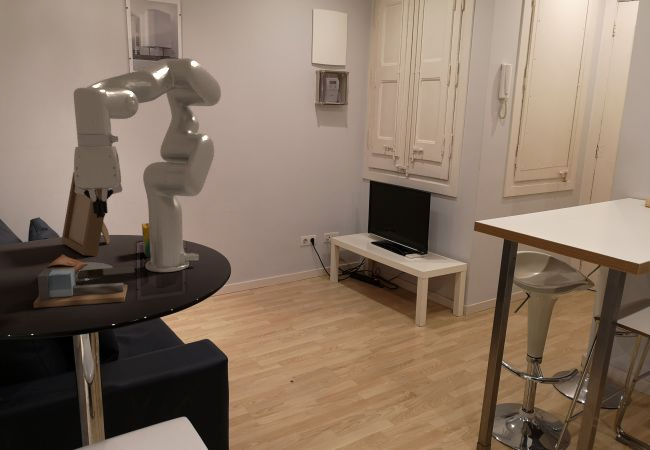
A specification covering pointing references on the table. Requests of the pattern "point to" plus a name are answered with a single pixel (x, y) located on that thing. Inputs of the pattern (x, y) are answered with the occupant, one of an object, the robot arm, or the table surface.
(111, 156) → the robot arm
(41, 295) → the dark grey slab
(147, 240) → the crayon box
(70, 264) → the sunglasses case
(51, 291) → the grey slider block
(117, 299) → the rail board
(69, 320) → the table surface
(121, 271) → the smartphone
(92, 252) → the photo frame
